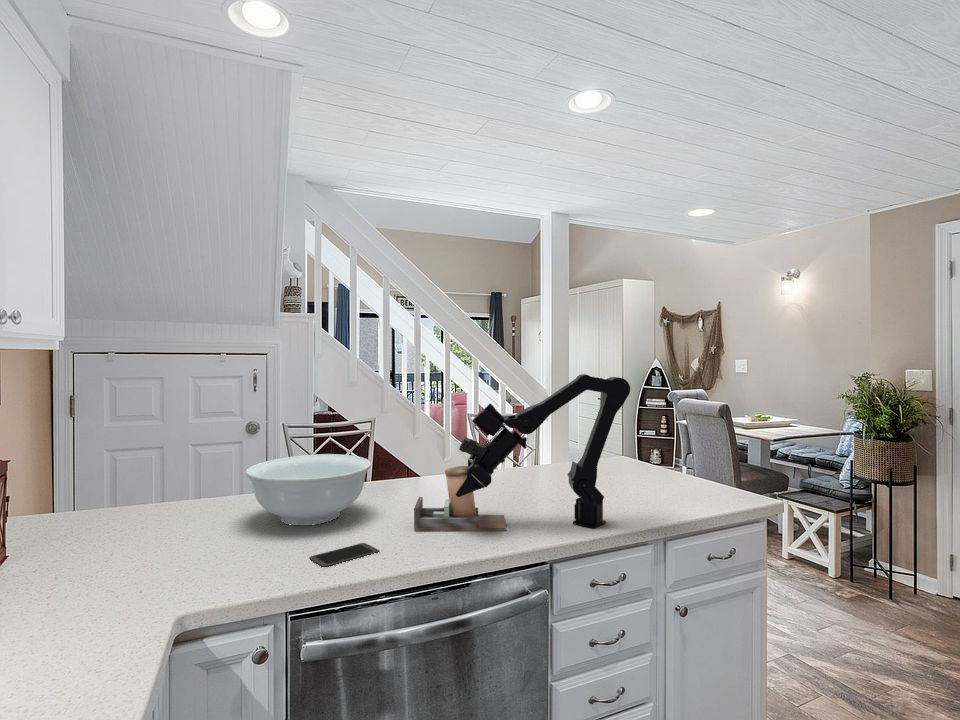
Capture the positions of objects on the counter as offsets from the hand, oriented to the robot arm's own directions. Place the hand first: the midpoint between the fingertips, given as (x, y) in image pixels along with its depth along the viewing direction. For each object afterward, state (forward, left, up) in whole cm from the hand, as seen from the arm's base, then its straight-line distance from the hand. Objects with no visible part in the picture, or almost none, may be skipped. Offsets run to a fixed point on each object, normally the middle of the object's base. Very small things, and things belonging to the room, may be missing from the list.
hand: (457, 491), depth 141 cm
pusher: (+3, +3, -8) cm, 9 cm away
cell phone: (+4, +32, -9) cm, 34 cm away
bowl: (+34, +22, -9) cm, 42 cm away
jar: (-1, -1, -7) cm, 7 cm away
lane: (-1, -1, -9) cm, 9 cm away
